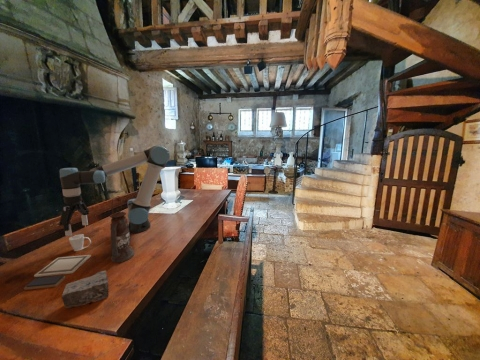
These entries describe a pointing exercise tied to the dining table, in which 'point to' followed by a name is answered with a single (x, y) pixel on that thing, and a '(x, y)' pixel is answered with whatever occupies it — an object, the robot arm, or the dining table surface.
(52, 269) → the board
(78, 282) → the stone block
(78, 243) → the cup
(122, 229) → the lantern
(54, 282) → the ink pad
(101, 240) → the dining table surface
